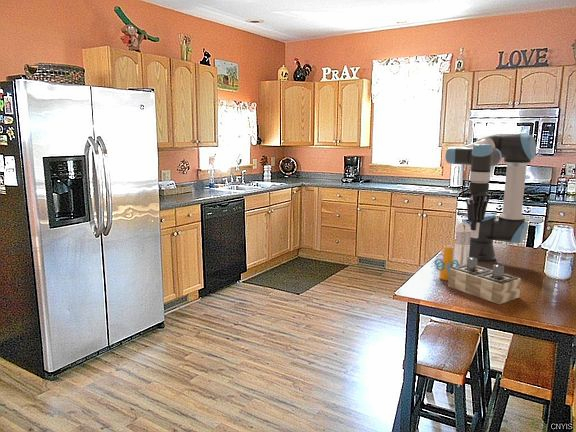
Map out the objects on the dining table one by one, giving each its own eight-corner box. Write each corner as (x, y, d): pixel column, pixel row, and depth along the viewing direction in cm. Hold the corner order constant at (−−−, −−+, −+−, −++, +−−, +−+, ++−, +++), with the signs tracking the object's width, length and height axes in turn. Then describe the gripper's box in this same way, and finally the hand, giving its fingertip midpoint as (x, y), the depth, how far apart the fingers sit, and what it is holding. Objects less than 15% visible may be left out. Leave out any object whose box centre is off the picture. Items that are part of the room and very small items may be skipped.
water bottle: (463, 272, 216) (467, 221, 211) (450, 269, 221) (454, 219, 216) (470, 269, 220) (475, 219, 215) (457, 266, 225) (461, 217, 220)
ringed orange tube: (460, 283, 200) (463, 251, 197) (435, 282, 202) (438, 249, 199) (456, 275, 212) (458, 244, 209) (432, 273, 214) (435, 242, 211)
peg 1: (469, 274, 198) (471, 256, 196) (477, 276, 194) (479, 258, 193) (463, 275, 196) (465, 258, 194) (472, 278, 192) (473, 260, 191)
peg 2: (495, 282, 188) (496, 263, 186) (504, 285, 185) (506, 266, 183) (489, 283, 186) (491, 265, 184) (498, 286, 182) (500, 267, 181)
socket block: (467, 280, 205) (469, 262, 203) (519, 297, 185) (521, 277, 183) (447, 286, 197) (449, 267, 196) (499, 304, 178) (501, 283, 176)
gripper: (480, 180, 194) (475, 233, 198) (461, 181, 187) (456, 237, 191) (497, 181, 187) (491, 237, 192) (477, 183, 180) (472, 241, 185)
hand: (474, 237), depth 192 cm, fingers closed
